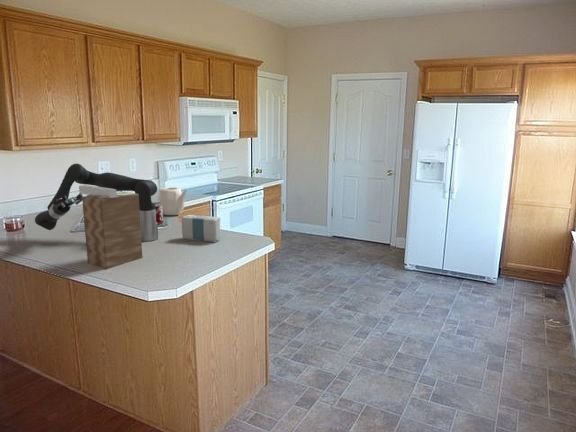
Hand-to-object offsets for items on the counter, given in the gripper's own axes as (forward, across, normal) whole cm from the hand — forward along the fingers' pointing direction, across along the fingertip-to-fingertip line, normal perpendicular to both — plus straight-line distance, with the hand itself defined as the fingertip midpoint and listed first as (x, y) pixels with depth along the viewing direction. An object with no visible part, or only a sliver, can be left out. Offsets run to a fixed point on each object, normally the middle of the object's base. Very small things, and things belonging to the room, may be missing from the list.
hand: (73, 196), depth 224 cm
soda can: (-25, -64, -18) cm, 71 cm away
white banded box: (+19, -50, -45) cm, 70 cm away
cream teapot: (-35, -89, -12) cm, 97 cm away
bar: (+26, +6, -11) cm, 29 cm away
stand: (+13, +2, -40) cm, 42 cm away
